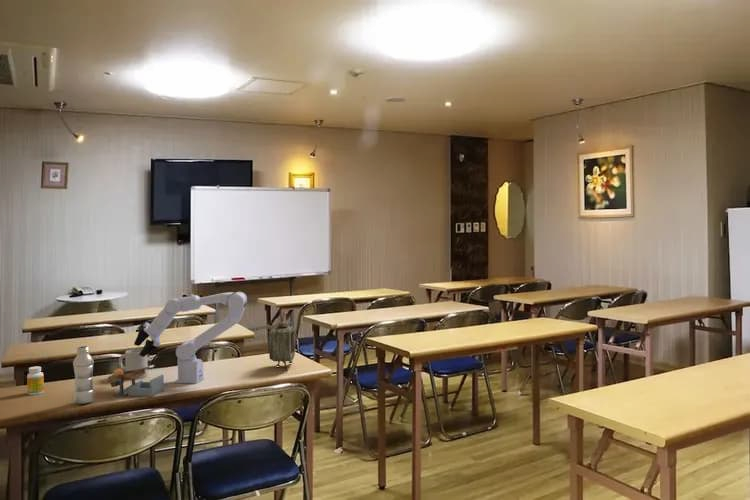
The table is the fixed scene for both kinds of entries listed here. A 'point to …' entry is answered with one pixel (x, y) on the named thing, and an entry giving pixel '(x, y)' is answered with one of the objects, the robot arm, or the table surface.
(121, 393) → the stand
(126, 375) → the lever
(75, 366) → the plastic bottle
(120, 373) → the ball
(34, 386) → the supplement bottle
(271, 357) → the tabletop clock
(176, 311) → the robot arm
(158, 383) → the grey open box
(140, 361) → the mug
